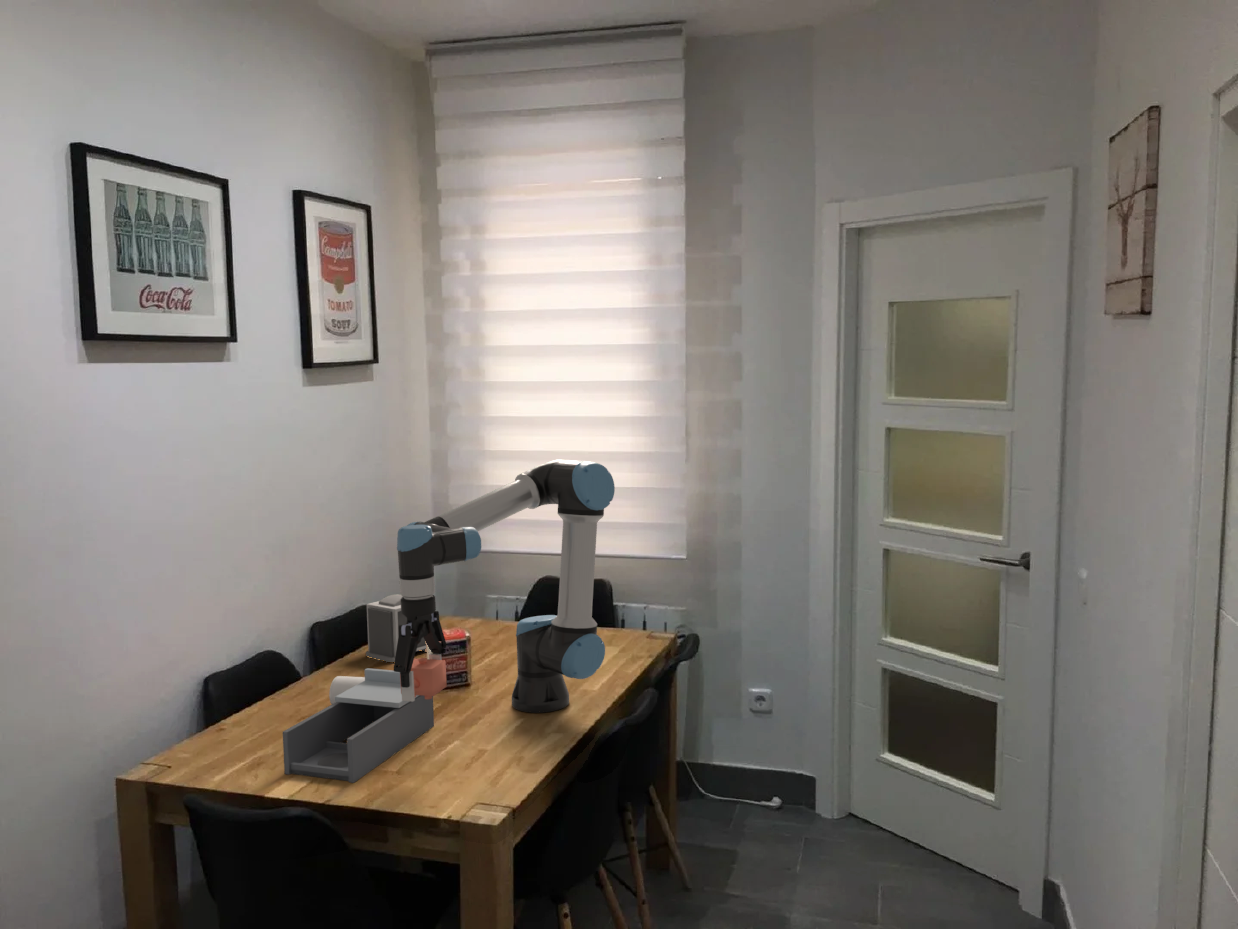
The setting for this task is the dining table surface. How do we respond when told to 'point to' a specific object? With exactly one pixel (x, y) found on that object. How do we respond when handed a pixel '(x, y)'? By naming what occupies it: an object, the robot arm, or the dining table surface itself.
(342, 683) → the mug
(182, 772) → the dining table surface
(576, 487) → the robot arm
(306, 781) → the dining table surface
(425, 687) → the pink cube teapot
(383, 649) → the grey panelled box
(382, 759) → the housing
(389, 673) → the lid
